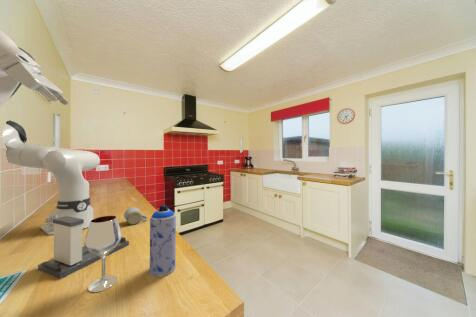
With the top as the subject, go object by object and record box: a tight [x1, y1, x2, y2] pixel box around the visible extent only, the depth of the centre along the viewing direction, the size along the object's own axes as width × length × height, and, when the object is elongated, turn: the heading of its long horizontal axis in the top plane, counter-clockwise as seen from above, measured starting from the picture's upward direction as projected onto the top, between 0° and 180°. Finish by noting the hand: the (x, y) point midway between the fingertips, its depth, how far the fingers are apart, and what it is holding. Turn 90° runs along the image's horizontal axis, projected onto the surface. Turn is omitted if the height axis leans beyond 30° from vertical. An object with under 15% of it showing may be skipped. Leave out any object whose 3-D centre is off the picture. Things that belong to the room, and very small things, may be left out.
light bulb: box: [123, 206, 148, 226], centre depth 94 cm, size 11×8×8 cm
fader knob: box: [53, 216, 84, 266], centre depth 55 cm, size 9×3×13 cm, turn 70°
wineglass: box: [83, 215, 123, 293], centre depth 48 cm, size 8×8×18 cm
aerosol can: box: [148, 204, 177, 278], centre depth 54 cm, size 8×8×20 cm
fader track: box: [37, 236, 130, 280], centre depth 61 cm, size 12×21×2 cm, turn 160°
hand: (61, 102), depth 66 cm, fingers open, 8 cm apart
